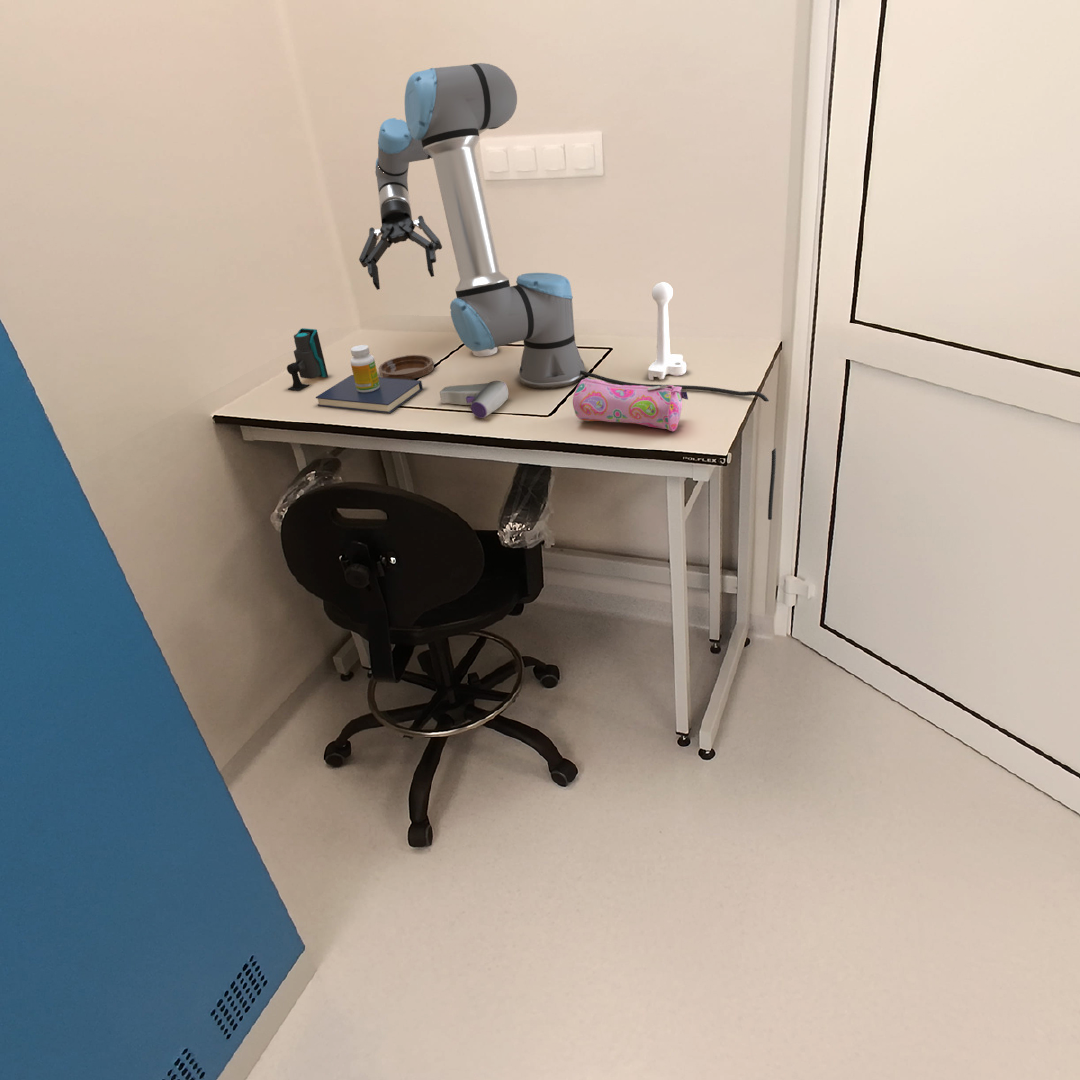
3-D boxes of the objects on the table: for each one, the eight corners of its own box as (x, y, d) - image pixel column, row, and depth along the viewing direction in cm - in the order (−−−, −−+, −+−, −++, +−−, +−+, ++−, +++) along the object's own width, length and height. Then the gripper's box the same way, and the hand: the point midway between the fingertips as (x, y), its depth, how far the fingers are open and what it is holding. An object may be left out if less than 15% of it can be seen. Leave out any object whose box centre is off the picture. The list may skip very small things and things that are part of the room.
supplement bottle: (377, 392, 182) (368, 350, 177) (354, 394, 183) (345, 352, 178) (382, 383, 187) (373, 342, 182) (359, 385, 187) (350, 344, 182)
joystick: (665, 362, 187) (664, 274, 177) (695, 365, 183) (696, 276, 173) (644, 379, 180) (641, 289, 169) (675, 383, 176) (674, 291, 165)
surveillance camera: (271, 341, 190) (300, 328, 197) (285, 389, 196) (312, 374, 203) (289, 343, 187) (318, 329, 195) (302, 391, 194) (329, 376, 201)
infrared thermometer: (450, 400, 182) (511, 398, 177) (427, 422, 173) (491, 421, 167) (446, 381, 180) (507, 378, 175) (422, 402, 170) (486, 400, 165)
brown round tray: (445, 366, 199) (443, 359, 198) (405, 385, 191) (403, 377, 190) (408, 358, 207) (407, 351, 206) (368, 376, 198) (367, 369, 198)
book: (423, 389, 187) (421, 380, 186) (389, 413, 177) (388, 404, 176) (353, 383, 195) (351, 374, 194) (317, 406, 185) (315, 397, 184)
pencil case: (688, 419, 159) (688, 376, 154) (674, 439, 152) (674, 394, 148) (589, 409, 168) (586, 368, 163) (571, 427, 161) (568, 385, 156)
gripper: (448, 208, 201) (458, 277, 194) (353, 231, 204) (359, 300, 197) (439, 186, 194) (449, 257, 187) (341, 210, 197) (348, 281, 189)
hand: (403, 279), depth 192 cm, fingers open, 13 cm apart
